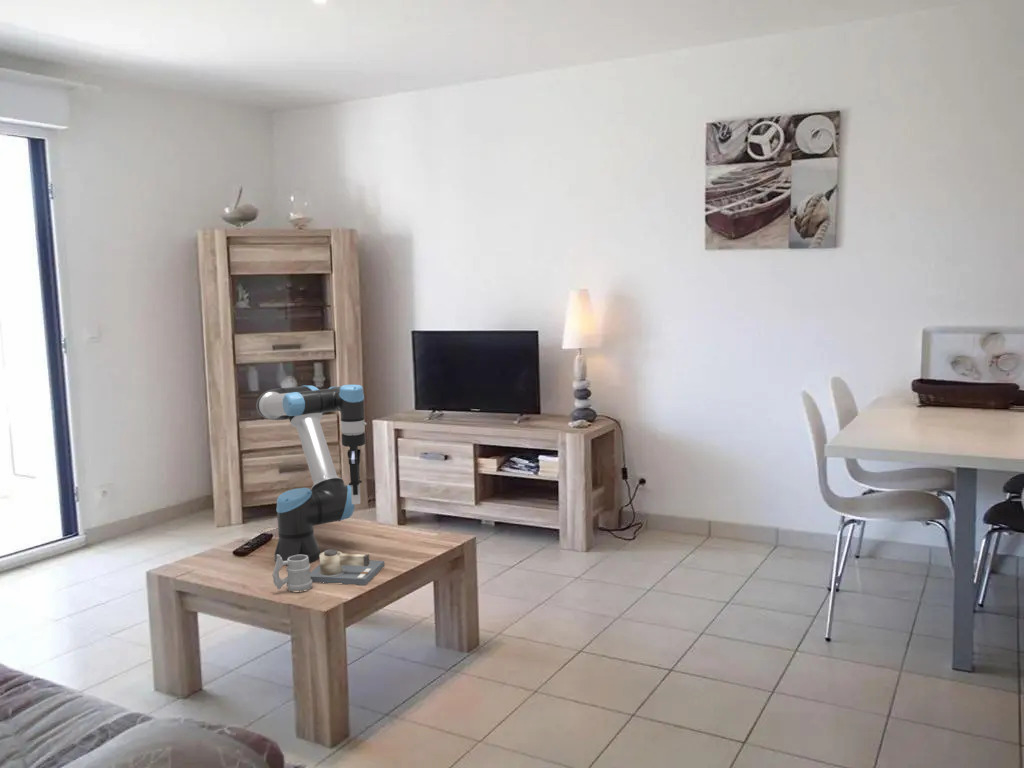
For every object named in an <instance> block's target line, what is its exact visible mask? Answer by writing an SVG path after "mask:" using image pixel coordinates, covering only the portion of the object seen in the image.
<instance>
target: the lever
mask: <svg viewBox="0 0 1024 768" xmlns="http://www.w3.org/2000/svg"><path fill="white" fill-rule="evenodd" d="M369 560H370V554H367V553H366V554H361V553H360V554H359V553H343V552H342V551H339V550H338V549H336V548H329V549H325V550H324V551H323V552H320V557H319V565H320V572H321V574H323V575H336V574H339V573H341V572H342V571H343V565H355V566H368V565H369Z"/></svg>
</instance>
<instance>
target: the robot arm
mask: <svg viewBox="0 0 1024 768" xmlns="http://www.w3.org/2000/svg"><path fill="white" fill-rule="evenodd" d="M255 408H256V411H257V413H258V414H259V416H261V417H262V418H264V419H266V420H269V421H284V420H288V421H289V423H290V425H291V426H292V427H293V428H295V429H296V431H297V434H298V437H299V440H300V444H301V447H302V451H303V454H304V456H305V460H306V461H305V462H306V464H307V466H308V470H309V474H310V476H311V480H312V483H313V484H312V486H311V488H309V487H300V488H293V489H288V490H287V491H284V492H282V493H281V494H279V495H278V496H277V499H276V508H275V509H276V516H277V531H278V541H277V545H276V548H275V552H274V561H276V560H277V554H278V555H280V556H281V557H282V560H283V561H287V559H288V558H289V557H291V556H294V555H307V556H308V557H309V564H310V563H312V562H315V561H317V560H319V559H320V554H321V549H320V546H319V543H318V541H317V539H316V536H315V534H314V526H318V525H324V524H330V523H335V522H341V521H344V520H348V519H350V518H351V517H352V516H353V513H354V512H355V507H356V505H360V504H361V483H363V480H361V476H360V471H361V470H360V463H361V454H362V453H361V451H362V450H361V449H359V447H362V446H364V445H365V444H366V433H365V430H366V429H365V427H366V426H367V422H365V395H364V387H363V386H362V385H361V384H343V385H341V386H330V387H328V388H325V389H319V388H318V387H316V386H314V385H306V384H305V385H301V386H291V387H290V386H288V387H281V388H279V387H278V388H272V389H269V390H267V391H264V392H263V393H261V395H259V397H258V398H257V400H256V404H255ZM331 412H340V432H341V433H342V434H341V445H342V446H343V447H349V449H348V450H347V458H348V465H349V476H350V482H349V483H348V484H346V485H345V482H344V481H345V480H344V479H343V478H341V477H339V476H338V474H337V471H336V468H335V465H334V461H333V459H332V458H333V457H332V456H331V453H330V450H329V446H328V443H327V440H326V436H325V434H324V430H323V427H322V425H321V424H322V423H321V419H322V418H323V414H324V413H331Z"/></svg>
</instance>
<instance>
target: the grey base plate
mask: <svg viewBox="0 0 1024 768" xmlns="http://www.w3.org/2000/svg"><path fill="white" fill-rule="evenodd" d="M384 566H385V560H376V559H375V560H374V559H373V560H371V559H369V565H368V566H355V565H343V571H342V572H341V573H339V574H336V575H323V574H321V572H320V564H318V566H316V567H315V568H313V569H312V570H310V577H311V579H312V582H318V583H317V584H328V583H342V584H341V585H348V584H356V585H355V586H367V585H368V584H369V582H370V581H372V580H373V577H374V576H375V575H376V574H377V573H378V572H379V571H380V570H381V569H382V568H383V567H384ZM384 568H385V567H384ZM384 568H383V569H384ZM383 569H382V570H383ZM382 570H381V571H382ZM381 571H380V572H381ZM380 572H379V573H380ZM379 573H378V574H379ZM378 574H377V575H378ZM377 575H376V576H377ZM374 578H375V577H374ZM319 582H321V583H319ZM323 582H324V583H323Z"/></svg>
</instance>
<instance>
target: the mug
mask: <svg viewBox="0 0 1024 768" xmlns="http://www.w3.org/2000/svg"><path fill="white" fill-rule="evenodd" d="M283 566H287V567H286V572H287V576H286V577H284V578H282V579H281V577H280V570H281V569H282V567H283ZM310 572H311V564H310V563H309V557H308V556H307V555H294V556H291V557H289V558H288V559H287V561H283V560H282V557H281V556H280V555H278V554H277V560H276V562H275V565H274V568H273V572H272V579H273V580H272V581H273V584H274V587H276V589H277V590H280V589H281V588H283V586H284V585H286V587H287V590H290V591H299V592H300V591H304V590H308V589H310V588H311V589H312V584H313V583H312V579H311V577H310ZM311 589H310V590H311ZM290 591H289V592H290ZM308 591H309V590H308ZM300 593H301V592H300Z"/></svg>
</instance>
